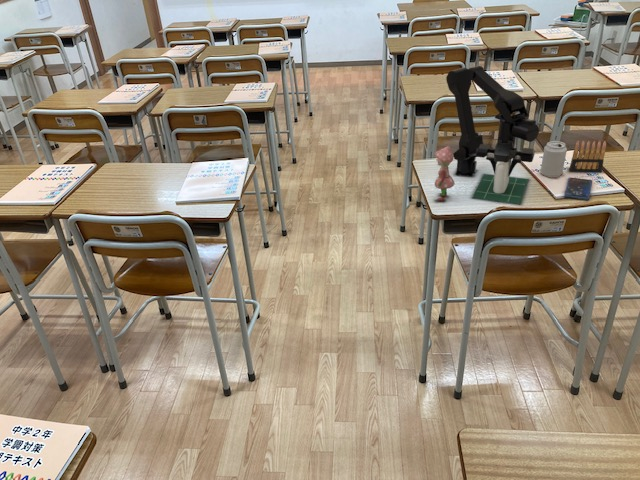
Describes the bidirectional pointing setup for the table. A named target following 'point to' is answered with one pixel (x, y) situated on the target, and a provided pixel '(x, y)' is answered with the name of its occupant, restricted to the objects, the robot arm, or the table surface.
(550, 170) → the can
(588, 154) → the ammunition clip
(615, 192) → the table surface
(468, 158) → the robot arm
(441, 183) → the cartoon character
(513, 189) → the cutting mat
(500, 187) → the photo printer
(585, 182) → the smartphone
